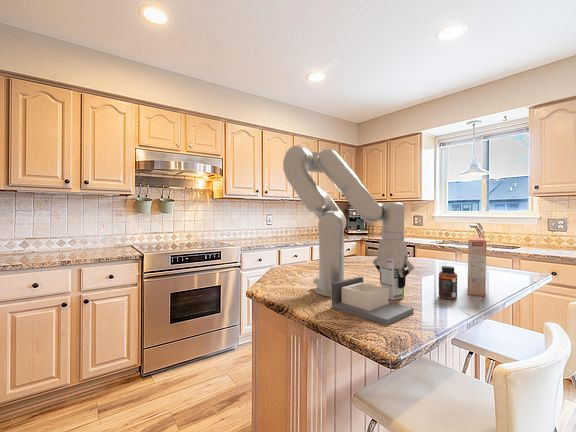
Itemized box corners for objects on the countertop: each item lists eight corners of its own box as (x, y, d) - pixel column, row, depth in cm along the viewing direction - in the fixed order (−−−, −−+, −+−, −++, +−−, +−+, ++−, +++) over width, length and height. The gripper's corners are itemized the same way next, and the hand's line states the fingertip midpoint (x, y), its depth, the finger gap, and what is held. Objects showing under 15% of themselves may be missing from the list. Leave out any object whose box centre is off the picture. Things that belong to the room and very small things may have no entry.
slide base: (331, 307, 97) (331, 283, 97) (359, 298, 106) (359, 276, 106) (387, 325, 82) (387, 296, 81) (413, 313, 91) (413, 287, 91)
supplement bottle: (459, 300, 104) (460, 268, 104) (441, 299, 105) (441, 268, 105) (453, 296, 110) (454, 265, 110) (436, 295, 111) (436, 265, 111)
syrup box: (392, 300, 104) (393, 259, 104) (380, 296, 109) (380, 257, 109) (404, 298, 107) (404, 258, 107) (391, 294, 112) (391, 256, 112)
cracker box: (486, 297, 108) (487, 240, 108) (467, 295, 111) (467, 239, 111) (485, 289, 120) (485, 237, 120) (467, 287, 123) (468, 236, 123)
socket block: (341, 302, 97) (341, 287, 96) (361, 296, 103) (361, 282, 103) (369, 311, 88) (369, 294, 88) (388, 303, 95) (388, 288, 95)
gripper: (366, 235, 112) (366, 282, 112) (410, 238, 99) (410, 292, 99) (377, 234, 117) (377, 279, 117) (421, 237, 104) (420, 288, 104)
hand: (392, 285), depth 108 cm, fingers closed on syrup box, 6 cm apart
